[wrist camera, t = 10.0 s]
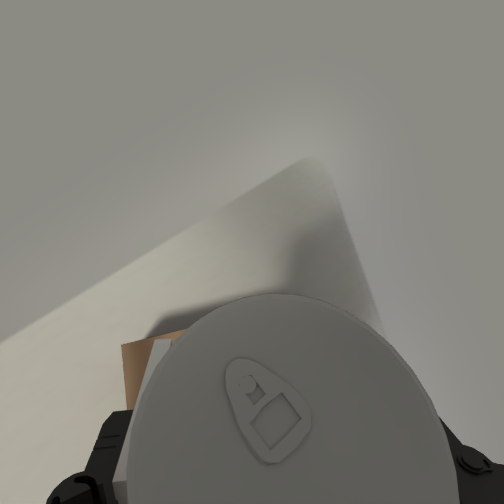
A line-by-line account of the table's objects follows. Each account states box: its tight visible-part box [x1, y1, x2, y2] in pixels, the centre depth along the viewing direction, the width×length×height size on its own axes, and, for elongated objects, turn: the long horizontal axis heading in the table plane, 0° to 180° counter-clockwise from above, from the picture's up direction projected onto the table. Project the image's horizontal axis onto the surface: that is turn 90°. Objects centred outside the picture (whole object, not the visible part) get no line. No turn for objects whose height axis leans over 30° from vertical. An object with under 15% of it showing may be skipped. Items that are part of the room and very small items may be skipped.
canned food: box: [126, 294, 460, 504], centre depth 12 cm, size 8×8×11 cm
